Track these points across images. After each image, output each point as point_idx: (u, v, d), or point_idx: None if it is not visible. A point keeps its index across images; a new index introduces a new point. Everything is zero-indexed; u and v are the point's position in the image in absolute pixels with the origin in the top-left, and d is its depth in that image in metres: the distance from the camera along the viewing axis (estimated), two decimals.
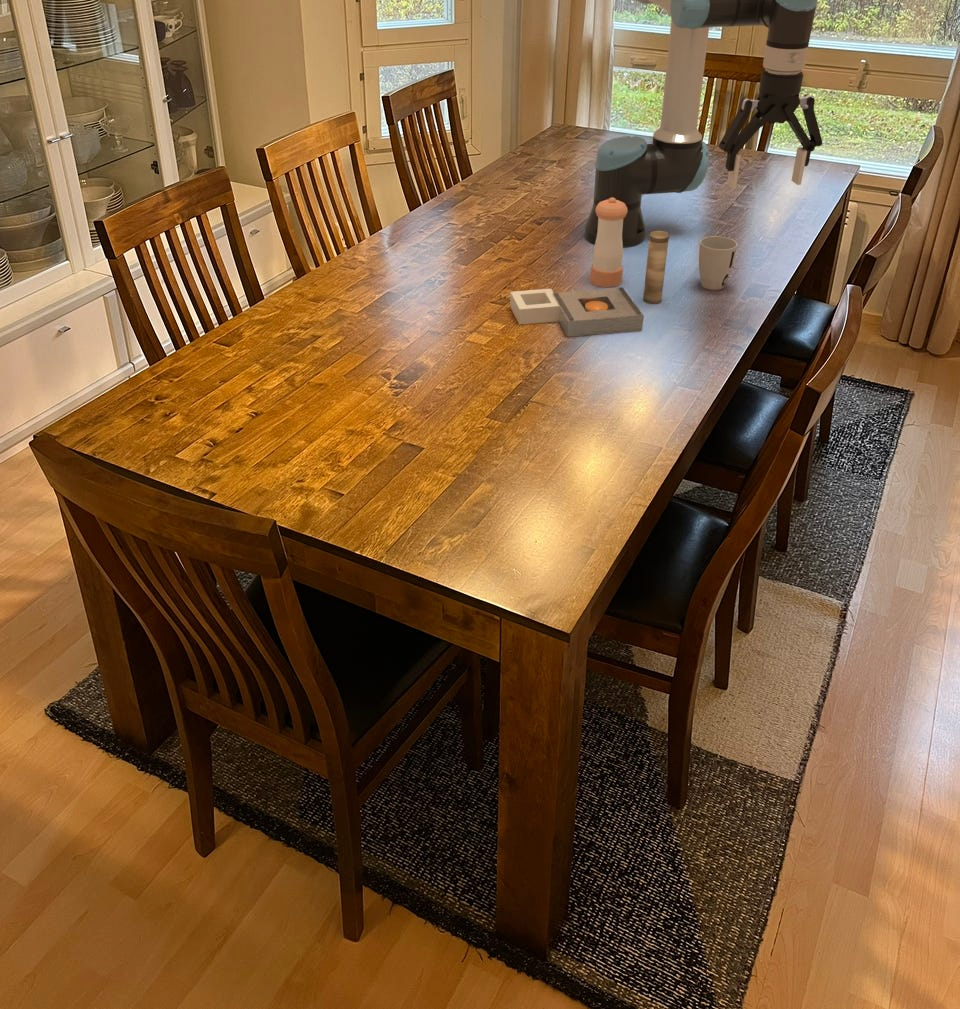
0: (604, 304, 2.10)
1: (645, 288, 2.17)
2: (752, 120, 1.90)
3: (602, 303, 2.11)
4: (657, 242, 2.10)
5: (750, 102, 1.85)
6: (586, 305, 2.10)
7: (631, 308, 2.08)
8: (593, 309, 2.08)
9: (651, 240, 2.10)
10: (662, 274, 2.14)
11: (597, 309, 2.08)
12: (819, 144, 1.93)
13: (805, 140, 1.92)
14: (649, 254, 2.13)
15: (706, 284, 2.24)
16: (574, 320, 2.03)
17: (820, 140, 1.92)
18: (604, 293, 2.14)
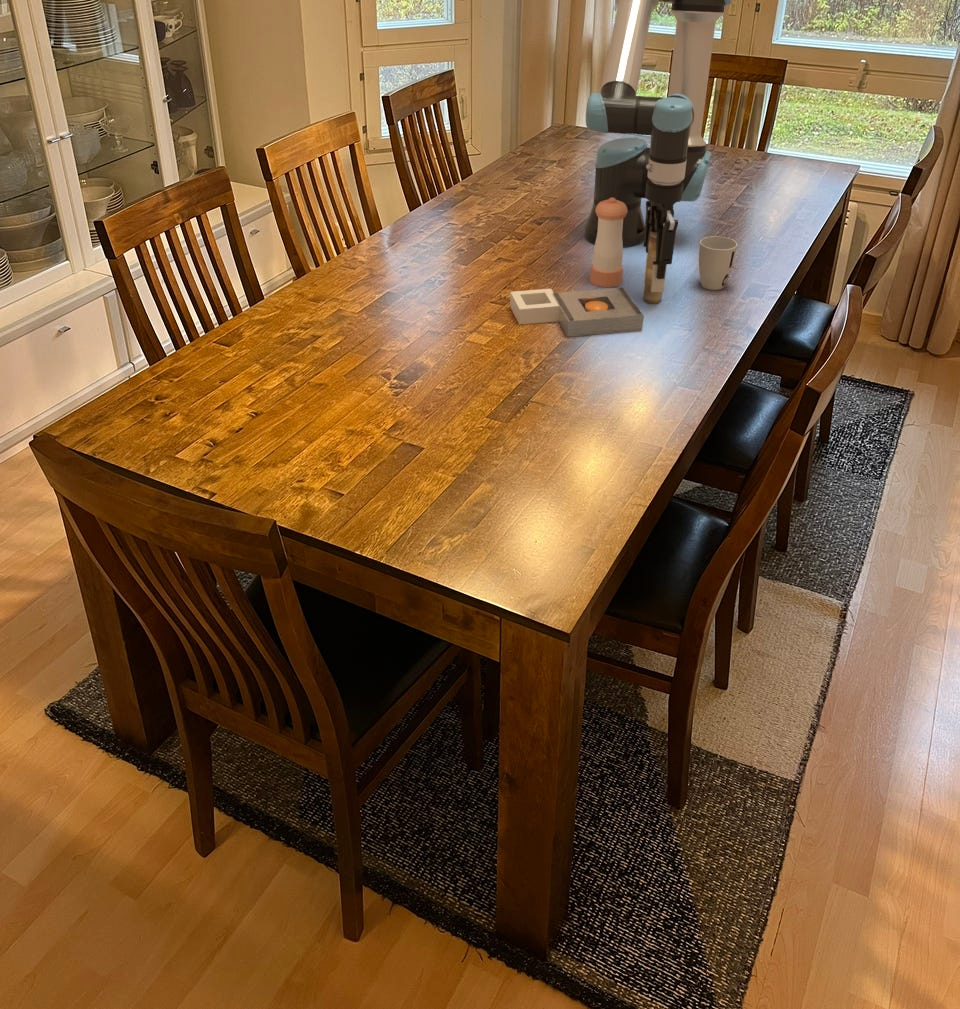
0: (604, 304, 2.10)
1: (645, 288, 2.17)
2: None
3: (602, 303, 2.11)
4: None
5: (647, 202, 2.12)
6: (586, 305, 2.10)
7: (631, 308, 2.08)
8: (593, 309, 2.08)
9: (651, 240, 2.10)
10: None
11: (597, 309, 2.08)
12: (659, 262, 2.09)
13: (656, 252, 2.10)
14: (649, 254, 2.13)
15: (706, 284, 2.24)
16: (574, 320, 2.03)
17: (660, 260, 2.08)
18: (604, 293, 2.14)
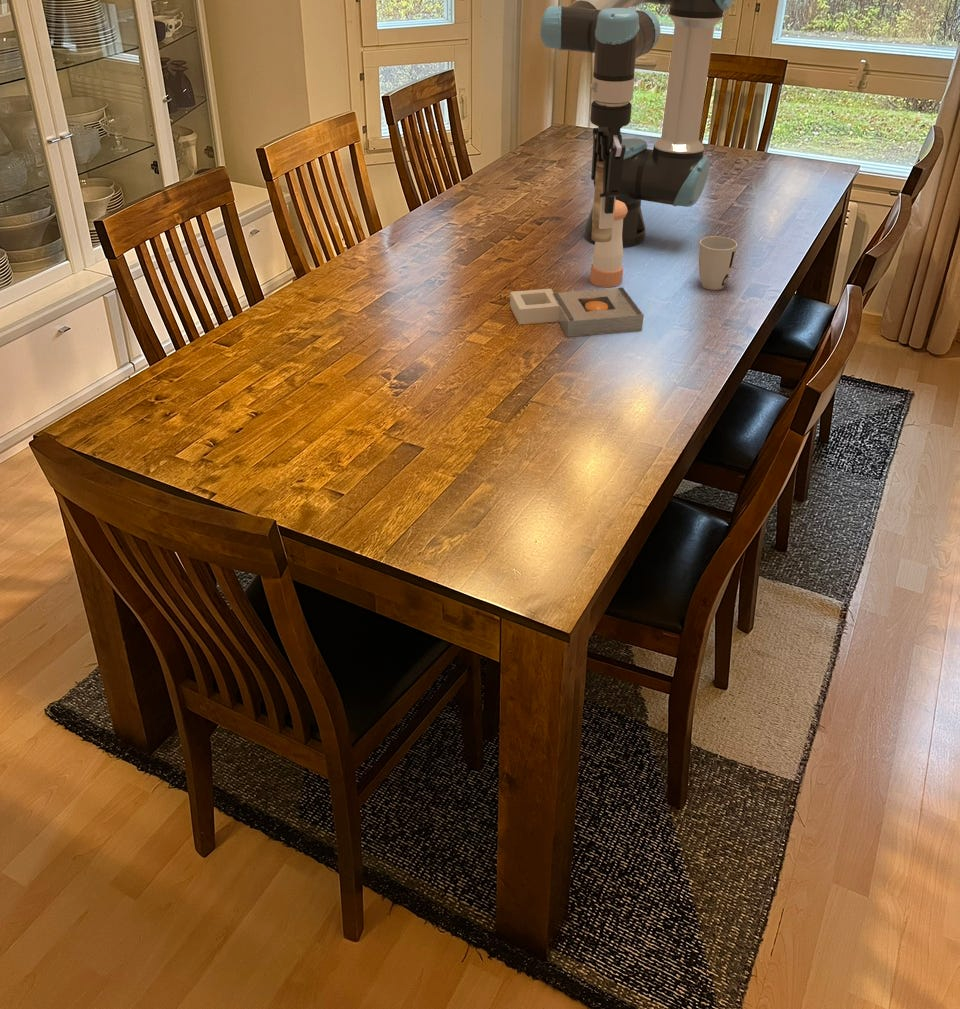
0: (604, 304, 2.10)
1: (593, 225, 1.99)
2: None
3: (602, 303, 2.11)
4: None
5: (593, 129, 1.94)
6: (586, 305, 2.10)
7: (631, 308, 2.08)
8: (593, 309, 2.08)
9: (598, 170, 1.92)
10: None
11: (597, 309, 2.08)
12: (606, 194, 1.91)
13: (604, 183, 1.92)
14: (596, 186, 1.94)
15: (706, 284, 2.24)
16: (574, 320, 2.03)
17: (607, 192, 1.90)
18: (604, 293, 2.14)
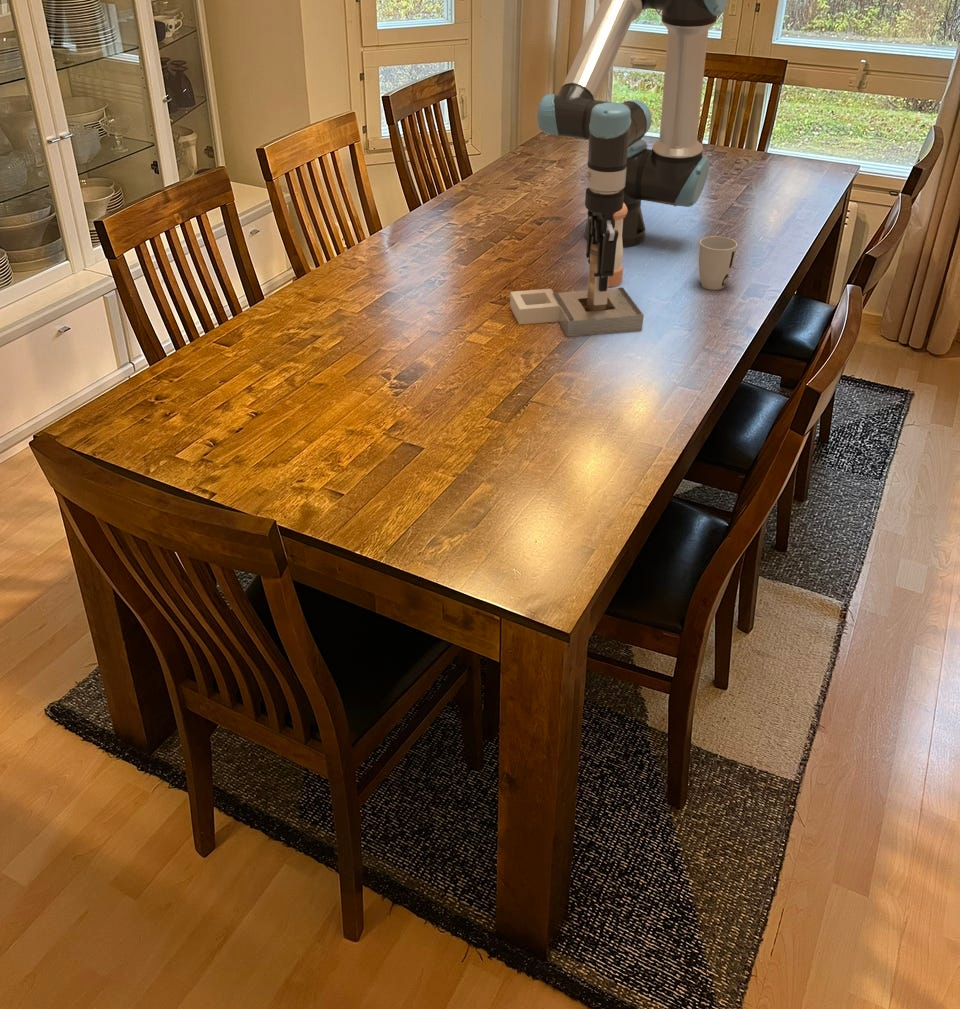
0: None
1: (588, 302, 2.09)
2: None
3: None
4: None
5: (588, 211, 2.04)
6: None
7: (631, 308, 2.08)
8: None
9: (592, 253, 2.02)
10: None
11: None
12: (600, 274, 2.00)
13: (598, 264, 2.01)
14: (590, 267, 2.04)
15: (706, 284, 2.24)
16: (574, 320, 2.03)
17: (601, 272, 2.00)
18: None
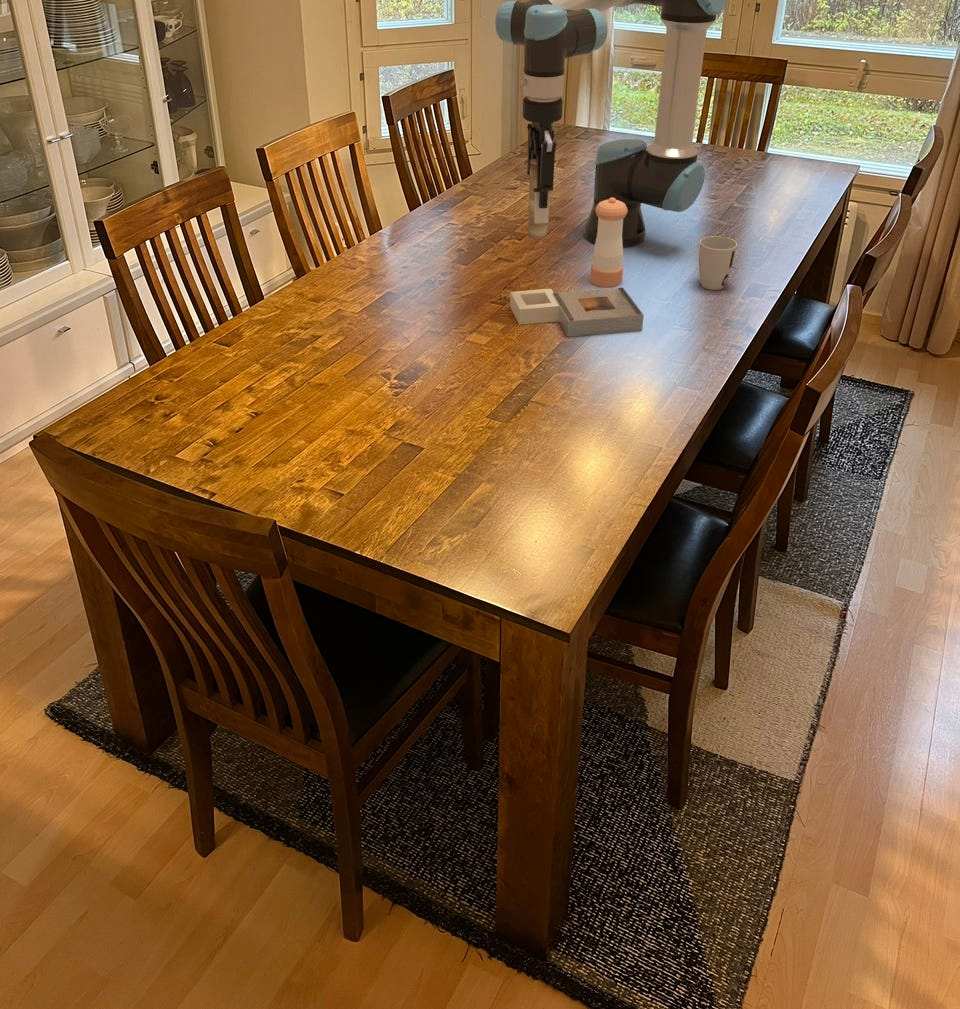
0: None
1: (529, 222, 2.01)
2: None
3: None
4: None
5: (528, 125, 1.96)
6: None
7: (631, 308, 2.08)
8: None
9: (531, 167, 1.94)
10: None
11: None
12: (539, 189, 1.93)
13: (537, 178, 1.94)
14: (530, 183, 1.97)
15: (706, 284, 2.24)
16: (574, 320, 2.03)
17: (540, 186, 1.92)
18: (604, 293, 2.14)
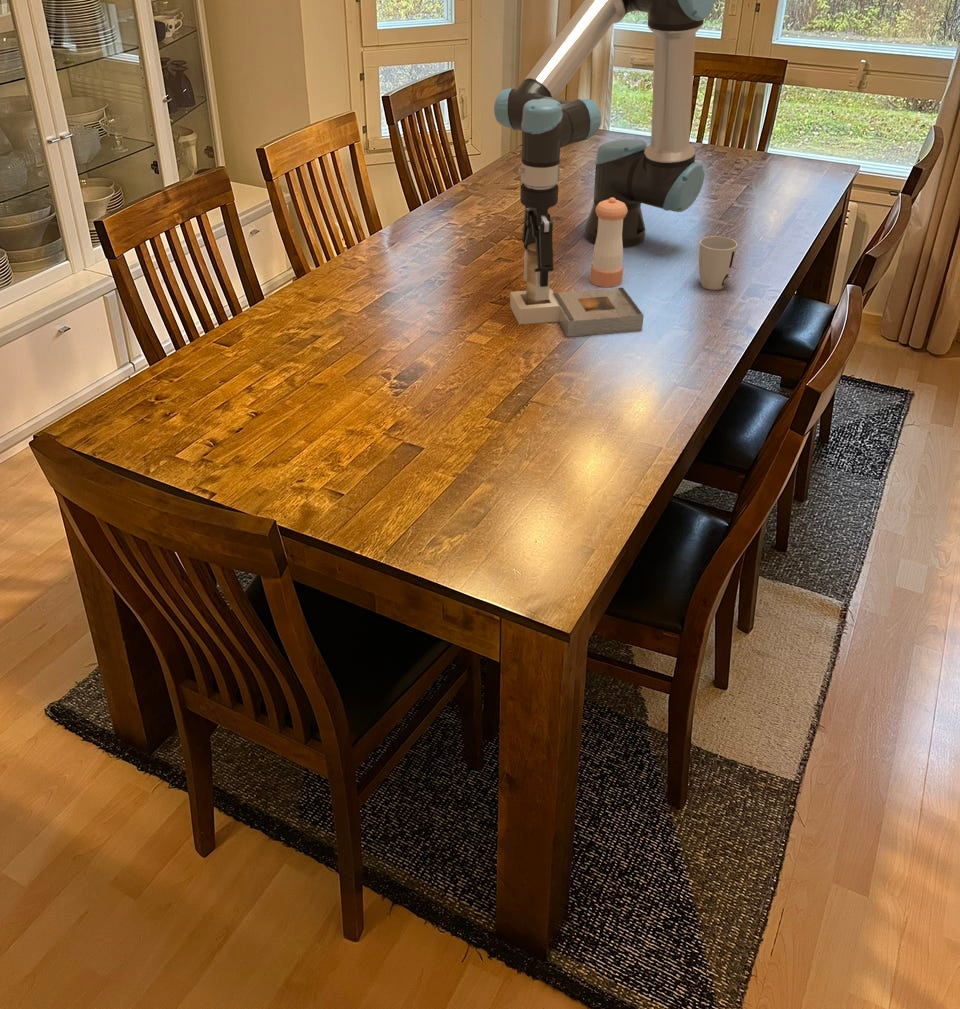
0: None
1: (526, 302, 2.12)
2: None
3: None
4: (534, 255, 2.04)
5: None
6: None
7: (631, 308, 2.08)
8: None
9: (529, 253, 2.05)
10: None
11: None
12: (540, 270, 1.99)
13: (537, 259, 2.01)
14: (528, 267, 2.07)
15: (706, 284, 2.24)
16: (574, 320, 2.03)
17: (541, 267, 1.99)
18: (604, 293, 2.14)
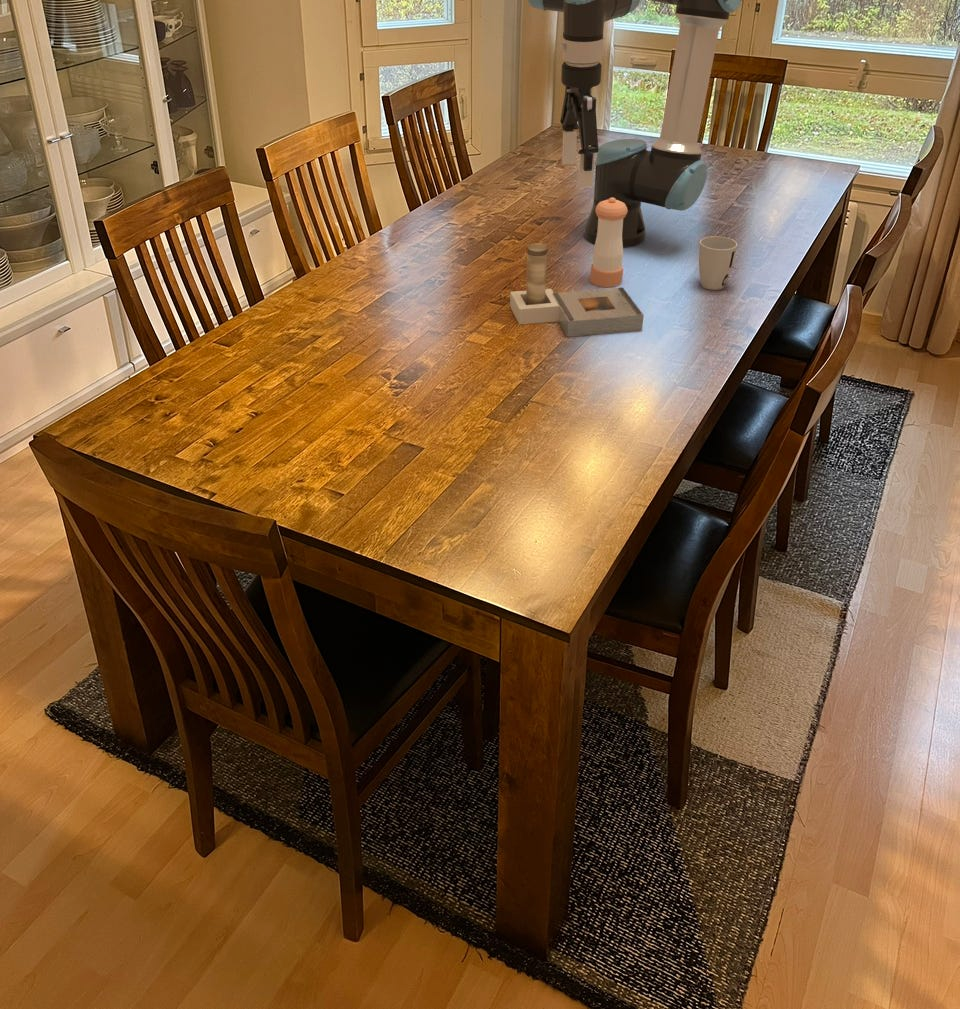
0: None
1: (526, 302, 2.12)
2: None
3: None
4: (534, 255, 2.04)
5: None
6: None
7: (631, 308, 2.08)
8: None
9: (529, 253, 2.05)
10: (542, 288, 2.09)
11: None
12: (584, 151, 1.88)
13: (581, 141, 1.90)
14: (528, 267, 2.07)
15: (706, 284, 2.24)
16: (574, 320, 2.03)
17: (585, 147, 1.88)
18: (604, 293, 2.14)
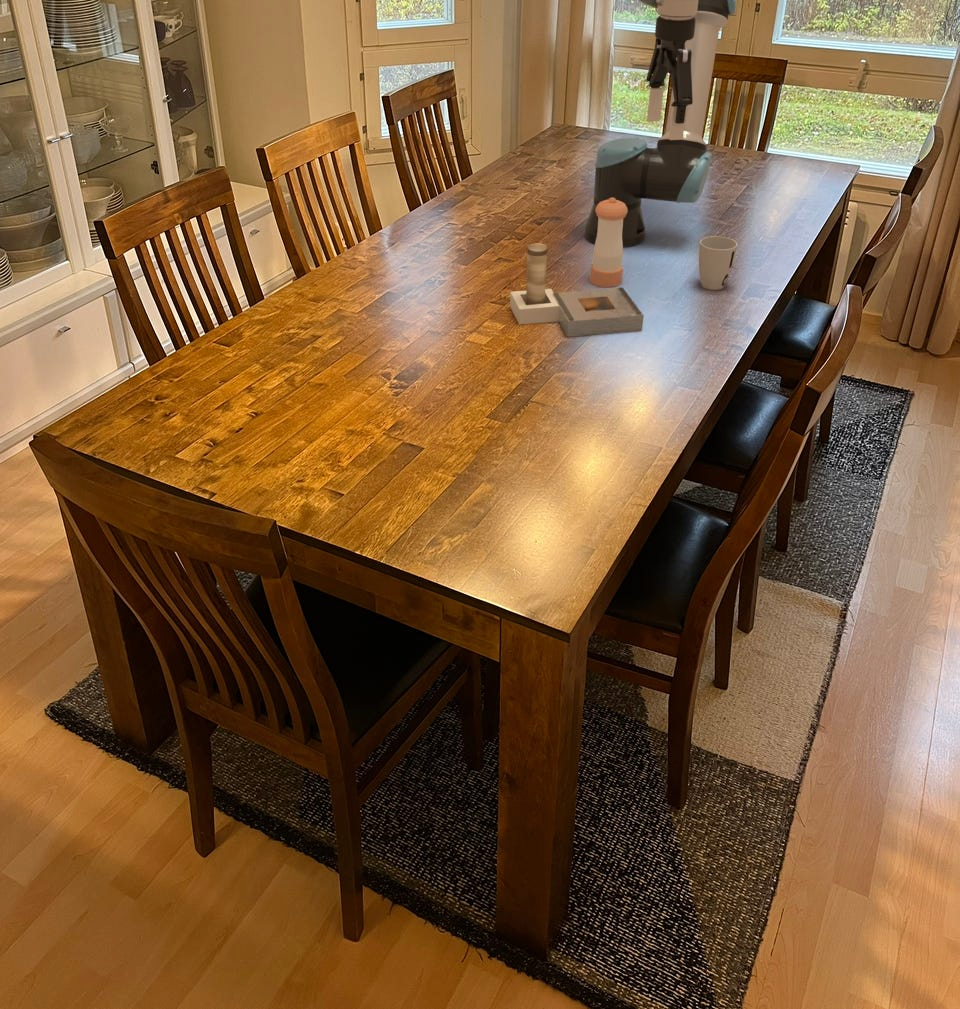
0: None
1: (526, 302, 2.12)
2: None
3: None
4: (534, 255, 2.04)
5: (657, 39, 1.99)
6: None
7: (631, 308, 2.08)
8: None
9: (529, 253, 2.05)
10: (542, 288, 2.09)
11: None
12: (679, 103, 1.92)
13: (674, 94, 1.94)
14: (528, 267, 2.07)
15: (706, 284, 2.24)
16: (574, 320, 2.03)
17: (680, 99, 1.91)
18: (604, 293, 2.14)
